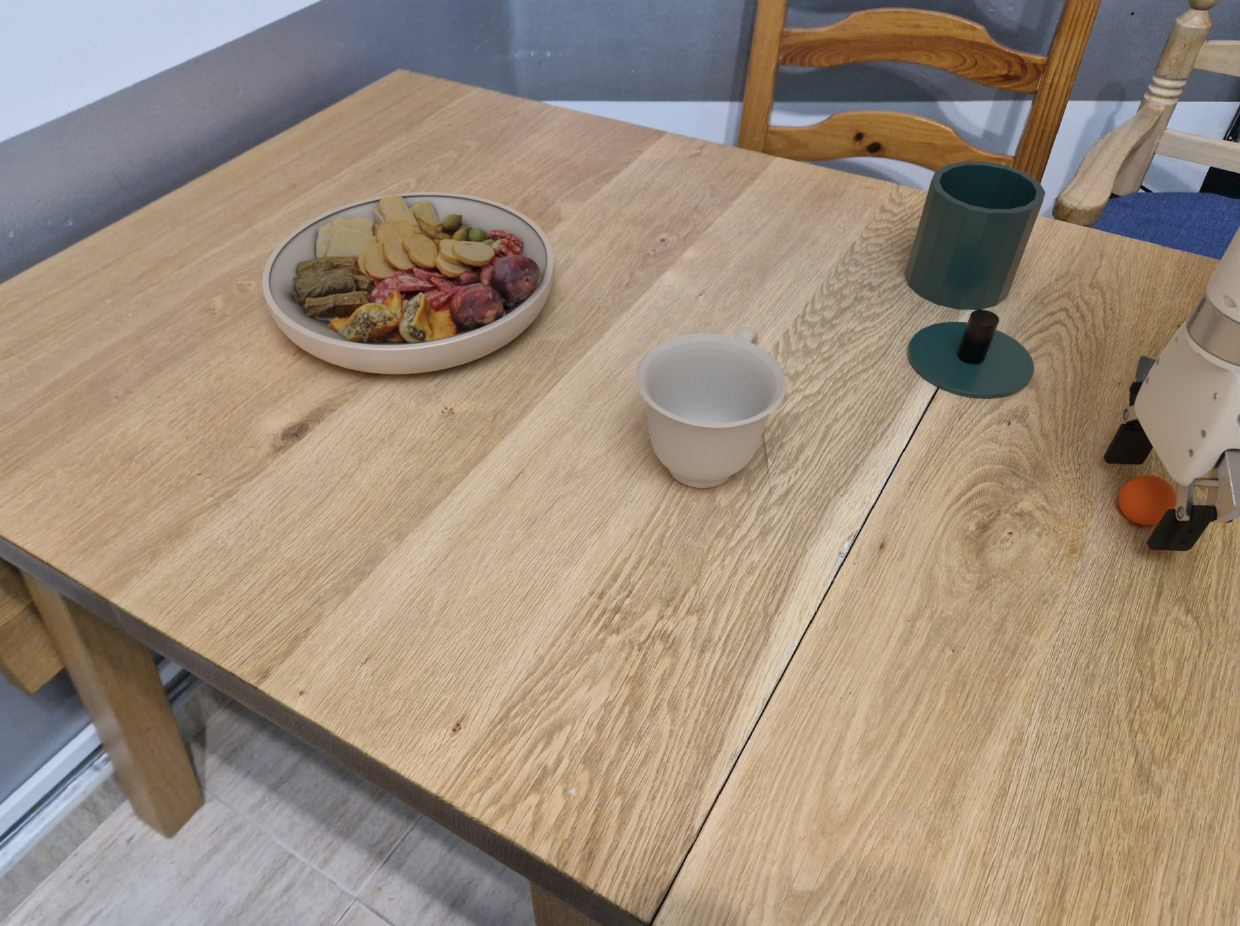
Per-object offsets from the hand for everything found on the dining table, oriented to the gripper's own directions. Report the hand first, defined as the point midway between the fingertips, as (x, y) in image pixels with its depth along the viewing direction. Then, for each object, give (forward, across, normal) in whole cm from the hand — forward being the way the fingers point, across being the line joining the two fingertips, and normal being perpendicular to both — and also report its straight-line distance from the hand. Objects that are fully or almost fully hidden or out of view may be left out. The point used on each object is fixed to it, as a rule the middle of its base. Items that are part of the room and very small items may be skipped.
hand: (1143, 502), depth 76 cm
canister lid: (+1, +20, +9) cm, 22 cm away
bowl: (+2, +29, +65) cm, 71 cm away
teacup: (+2, +6, +35) cm, 35 cm away
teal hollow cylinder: (+2, +34, +7) cm, 35 cm away
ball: (0, 0, 0) cm, 0 cm away
